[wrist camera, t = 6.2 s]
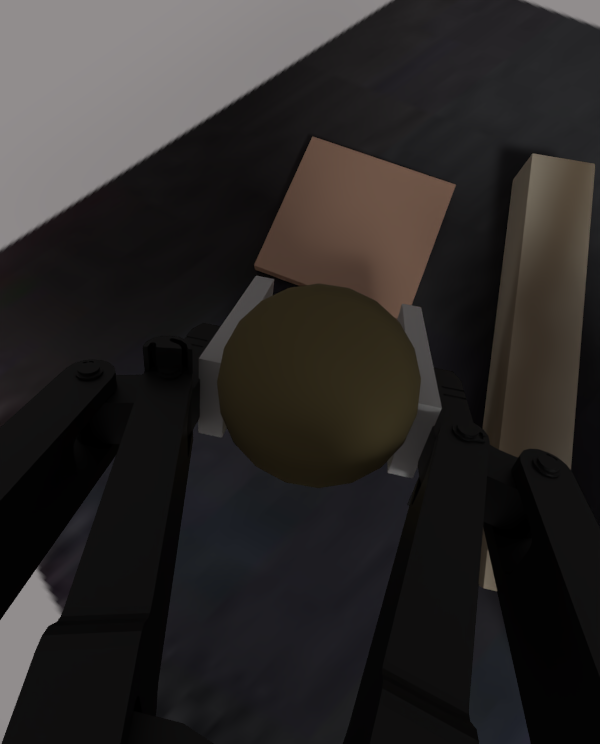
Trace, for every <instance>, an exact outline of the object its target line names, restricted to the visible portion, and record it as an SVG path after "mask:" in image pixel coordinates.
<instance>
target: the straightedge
mask: <svg viewBox="0 0 600 744" xmlns="http://www.w3.org/2000/svg"><path fill="white" fill-rule="evenodd" d="M594 172H595V164H592V163H586V162H580V161H574V160H568V159H563V158H557V157H551V156H545V155H539V154H532V155H531V156H530V158H529V159H528V160H527V162H526V163H525V164H524V166H523V167H522V168H521V170H520V171H519V172H518V174H517V175H516V176H515V178H514V179H513V183H512V191H511V199H510V207H509V215H508V224H507V232H506V240H505V248H504V256H503V265H502V273H501V281H500V289H499V297H498V305H497V314H496V322H495V330H494V338H493V346H492V354H491V363H490V371H489V379H488V387H487V395H486V404H485V412H484V420H483V428H482V429H483V430H484V431H485V432H486V434H487V435H488V437H489V441H490V445H491V446H493V447H495V448H497V449H499V450H501V451H503V452H506V453H508V454H511V455H513V456H515V457H519V456H520V454H521V453H522V452H523V450H526V449H539V450H542V451H545V452H548V453H551V454H553V455H554V456H556V457H558V458H559V459H560V460H562V461H563V462H564V463H565V464H566V465H567V466H568V467H569V469H570V470H571V462H572V450H573V437H574V424H575V412H576V399H577V386H578V374H579V361H580V349H581V336H582V323H583V311H584V298H585V285H586V273H587V260H588V247H589V235H590V222H591V210H592V197H593V184H594ZM479 585H480V586H481V587H482V588H485V589H489V590H494V591H497V588H496V583H495V578H494V574H493V569H492V565H491V560H490V556H489V551H488V547H487V542H486V538H485V533H484V529H483V535H482V547H481V560H480V572H479Z"/></svg>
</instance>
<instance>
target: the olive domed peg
mask: <svg viewBox="0 0 600 744" xmlns="http://www.w3.org/2000/svg"><path fill="white" fill-rule="evenodd" d="M420 385H421V376H420V372H419V367H418V362H417V357H416V353H415V348H414V347H413V345H412V343H411V341H410V340H409V338H408V336H407V335H406V333H405V331H404V329H403V328H402V326H401V324H400V322H399V321H398V320H397V319H396V318H394V317H393V316H392V315H391V314H390V313H389V312H388V311H387V310H386V309H385V308H384V307H382V306H381V305H380V304H379V303H378V302H377V301H375V300H373V299H371V298H369V297H367V296H365V295H363V294H361V293H359V292H356V291H354V290H352V289H350V288H346V287H339V286H333V285H326V284H319V283H318V284H312V285H305V286H298V287H291V288H287V289H285V290H283V291H281V292H279V293H277V294H275V295H273V296H271V297H268V298H266V299H264V300H262V301H261V302H260V303H259V304H257V305H256V306H255V307H254V308H253V309H252V310H251V311H250V312H249V313H248V314H247V315H246V316H244V317H243V318H242V319H241V320H240V321H239V323H238V324H237V326H236V328H235V330H234V331H233V333H232V335H231V337H230V338H229V340H228V342H227V344H226V345H225V347H224V350H223V355H222V360H221V365H220V370H219V374H218V379H217V388H218V396H219V405H220V414H221V416H222V418H223V420H224V422H225V424H226V427H227V429H228V431H229V433H230V435H231V437H232V440H233V442H234V443H235V444H236V445H237V446H238V448H239V449H240V450H241V451H242V452H243V453H244V454H245V455H246V456H247V457H248V458H249V459H250V460H251V461H252V462H253V463H254V465H255V466H256V467H258V468H260V469H262V470H264V471H266V472H267V473H269V474H271V475H273V476H275V477H277V478H279V479H280V480H282V481H284V482H287V483H293V484H298V485H304V486H310V487H316V488H322V487H328V486H334V485H341V484H347V483H352V482H354V481H356V480H358V479H360V478H362V477H364V476H366V475H368V474H369V473H371V472H373V471H375V470H377V469H379V468H381V467H382V466H383V465H384V464H385V463H386V462H387V461H388V460H389V459H390V458H391V456H392V455H393V454H394V453H395V452H396V451H397V450H398V449H399V448H400V447H401V446H402V445H403V444H404V442H405V440H406V437H407V435H408V433H409V431H410V429H411V427H412V425H413V422H414V420H415V418H416V416H417V412H418V403H419V394H420Z"/></svg>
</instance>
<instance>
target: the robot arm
mask: <svg viewBox="0 0 600 744" xmlns="http://www.w3.org/2000/svg"><path fill="white" fill-rule="evenodd" d="M273 287H274V279H271V278H266V277H261V276H255V278H254V279H253V281H252V282H251V284H250V285H249V286H248V288H247V289H246V291H245V292H244V294H243V295H242V297H241V298H240V299H239V301H238V302H237V304H236V305H235V307H234V308H233V310H232V311H231V313H230V314H229V315H228V317H227V318H226V320H225V321H224V323H223V324H222V326H216V325H211V324H206V323H203V324H201V325H199V326H197V327H195V328H193V329H192V330H191V331H190V332H189V334H188V335H187V337H185V339H183V338H180V337H175V336H161V337H156V338H153V339H151V340H149V341H147V342H146V343H145V344H144V346H143V354H144V367H145V372H144V374H142V375H116V373H115V368H114V366H113V365H111V364H110V363H108V362H105V361H102V360H84V361H80V362H77V363H74V364H72V365H70V366H69V367H67V368H66V369H65V370H64V371H63V372H61V373H60V374H59V375H58V376H57V377H56V378H55V379H54V380H53V381H51V382H50V383H49V384H48V385H47V386H46V387H45V388H44V389H43V390H41V391H40V392H39V393H38V394H37V395H36V396H35V397H34V398H33V399H31V400H30V401H29V402H28V403H27V404H26V405H25V406H24V407H23V408H21V409H20V410H19V411H18V412H17V413H16V414H15V415H14V416H13V417H11V418H10V419H9V420H8V421H7V422H6V423H5V424H4V425H3V426H1V427H0V620H1V618H2V617H3V615H4V614H5V612H6V611H7V610H8V608H9V607H10V605H11V604H12V603H13V601H14V600H15V598H16V597H17V595H18V594H19V593H20V591H21V590H22V588H23V587H24V585H25V584H26V583H27V581H28V580H29V578H30V577H31V575H32V574H33V572H34V571H35V570H36V568H37V567H38V565H39V564H40V563H41V561H42V560H43V558H44V557H45V555H46V554H47V553H48V551H49V550H50V548H51V547H52V545H53V544H54V543H55V541H56V540H57V538H58V537H59V536H60V534H61V533H62V531H63V530H64V528H65V527H66V526H67V524H68V523H69V521H70V520H71V518H72V517H73V516H74V514H75V513H76V511H77V510H78V508H79V507H80V506H81V504H82V503H83V501H84V500H85V498H86V497H87V496H88V494H89V493H90V491H91V490H92V488H93V487H94V486H95V484H96V483H97V481H98V480H99V478H100V477H101V476H102V474H103V473H104V471H105V470H106V469H107V467H108V466H109V464H110V463H111V461H112V460H113V459H114V457H115V456H116V457H115V460H114V463H113V466H112V469H111V472H110V475H109V478H108V481H107V484H106V487H105V490H104V493H103V496H102V499H101V501H100V504H99V507H98V510H97V513H96V516H95V519H94V522H93V525H92V528H91V531H90V534H89V537H88V540H87V543H86V546H85V548H84V551H83V554H82V557H81V560H80V563H79V566H78V569H77V572H76V575H75V578H74V581H73V584H72V587H71V590H70V593H69V595H68V598H67V601H66V604H65V607H64V610H63V612H62V615H61V617H60V618H59V620H58V621H57V622H56V623H54V624H52V625H50V626H48V628H47V629H46V631H45V632H44V634H43V635H42V637H41V639H40V642H39V644H38V646H37V649H36V651H35V653H34V656H33V659H32V662H31V664H30V667H29V670H28V673H27V676H26V678H25V681H24V684H23V686H22V689H21V692H20V695H19V697H18V700H17V703H16V706H15V709H14V711H13V714H12V716H11V719H10V722H9V725H8V727H7V730H6V733H5V736H4V738H3V741H2V744H213V743H212V742H210V741H209V740H207V739H206V738H204V737H203V736H201V735H200V734H198V733H197V732H195V731H194V730H192V729H191V728H189V727H188V726H186V725H185V724H183V723H179V722H175V721H171V720H167V719H163V718H159V717H156V709H157V691H158V681H159V673H160V666H161V659H162V652H163V645H164V638H165V631H166V624H167V617H168V610H169V603H170V596H171V589H172V582H173V575H174V568H175V561H176V554H177V547H178V540H179V534H180V527H181V520H182V513H183V506H184V499H185V492H186V485H187V478H188V471H189V464H190V457H191V450H192V443H193V428H194V426H195V425H196V423H197V421H198V433H203V434H208V435H212V436H217V437H223V434H224V432H225V430H226V428H227V427H226V424H225V422H224V420H223V418H222V416H221V414H220V405H219V396H218V388H217V379H218V374H219V370H220V365H221V360H222V355H223V350H224V347H225V345H226V344H227V342H228V340H229V338H230V337H231V335H232V333H233V331H234V330H235V328H236V326H237V324H238V323H239V321H240V320H241V319H242V318H243V317H244V316H246V315H247V314H248V313H249V312H250V311H251V310H252V309H253V308H254V307H255V306H256V305H257V304H259V303H260V302H261V301H262V300H264V299H266V298H268V297H271V296H273ZM397 320H398V321H399V322H400V324H401V326H402V328H403V329H404V331H405V333H406V335H407V336H408V338H409V340H410V341H411V343H412V345H413V347H414V348H415V353H416V357H417V362H418V367H419V372H420V376H421V385H420V394H419V403H418V412H417V416H416V418H415V420H414V422H413V425H412V427H411V429H410V431H409V433H408V435H407V437H406V440H405V442H404V444H403V445H402V446H401V447H400V448H399V449H398V450H397V451H396V452H395V453H394V454H393V455H392V456H391V458H390V459H389V460H388V461H387V463H388V473H391V474H395V475H400V476H405V477H409V478H413V476H414V474H415V471H416V469H417V467H418V469H419V478H418V481H417V483H416V485H415V488H414V490H413V492H412V495H411V497H410V499H409V502H408V504H407V505H409V509H408V513H407V517H406V520H405V524H404V528H403V531H402V535H401V538H400V542H399V546H398V549H397V553H396V557H395V560H394V564H393V567H392V571H391V575H390V578H389V582H388V586H387V589H386V593H385V596H384V600H383V604H382V607H381V611H380V615H379V618H378V622H377V625H376V629H375V633H374V636H373V640H372V644H371V647H370V651H369V655H368V658H367V662H366V665H365V669H364V673H363V676H362V680H361V684H360V687H359V691H358V694H357V698H356V702H355V705H354V709H353V713H352V716H351V720H350V723H349V727H348V730H347V733H346V736H345V739H344V742H343V744H479V740H478V735H477V730H476V728H475V727H474V726H473V724H472V723H471V722H470V718H469V698H470V686H471V673H472V661H473V648H474V635H475V623H476V610H477V598H478V585H479V572H480V560H481V547H482V535H483V529H484V533H485V538H486V542H487V547H488V551H489V556H490V560H491V565H492V569H493V574H494V578H495V583H496V588H497V592H498V597H499V601H500V606H501V610H502V615H503V619H504V624H505V628H506V633H507V637H508V642H509V646H510V651H511V655H512V660H513V665H514V669H515V674H516V678H517V683H518V687H519V692H520V696H521V701H522V705H523V710H524V714H525V719H526V723H527V728H528V732H529V737H530V742H531V744H600V527H599V525H598V523H597V521H596V519H595V517H594V515H593V513H592V511H591V509H590V507H589V505H588V503H587V501H586V499H585V497H584V495H583V493H582V491H581V489H580V487H579V485H578V483H577V481H576V479H575V477H574V475H573V473H572V471H571V470H570V469H569V467H568V466H567V465H566V464H565V463H564V462H563V461H562V460H560V459H559V458H558V457H556V456H554V455H553V454H551V453H548V452H545V451H542V450H539V449H526V450H523V452H522V453H521V454H520V456H519V457H515V456H513V455H511V454H508V453H506V452H503V451H501V450H499V449H497V448H495V447H493V446H491V445H490V441H489V437H488V435H487V434H486V432H485V431H484V430H483V429H482V428H481V427H479V426H478V425H477V424H475V423H473V419H472V416H471V413H470V409H469V406H468V402H467V400H466V396H465V392H464V389H463V385H462V382H461V380H460V379H459V378H458V377H457V376H456V375H455V374H454V372H452V371H447V370H442V369H437V368H433V363H432V358H431V353H430V348H429V343H428V339H427V334H426V329H425V324H424V319H423V314H422V310H421V307H417V306H412V305H407V304H402V305H401V309H400V312H399V315H398V319H397Z"/></svg>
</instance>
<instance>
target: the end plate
mask: <svg viewBox="0 0 600 744" xmlns="http://www.w3.org/2000/svg"><path fill="white" fill-rule="evenodd" d="M455 186H456V185H455V184H452V183H449V182H446V181H443V180H440V179H437V178H434V177H431V176H428V175H425V174H422V173H419V172H416V171H414V170H411V169H408V168H405V167H402V166H399V165H396V164H393V163H390V162H387V161H384V160H381V159H378V158H375V157H372V156H369V155H366V154H363V153H360V152H357V151H354V150H351V149H348V148H345V147H343V146H340V145H337V144H334V143H331V142H328V141H325V140H322V139H319V138H316V137H313V136H312V139H311V141H310V143H309V145H308V147H307V150H306V152H305V154H304V156H303V158H302V161H301V163H300V165H299V167H298V169H297V172H296V174H295V176H294V178H293V180H292V183H291V185H290V187H289V189H288V191H287V194H286V196H285V198H284V200H283V202H282V205H281V207H280V209H279V211H278V213H277V216H276V218H275V220H274V222H273V224H272V227H271V229H270V231H269V233H268V235H267V238H266V240H265V242H264V244H263V247H262V249H261V251H260V253H259V255H258V258H257V260H256V262H255V264H254V267H255V270H257V271H260V272H263V273H266V274H268V275H271V276H274V277H276V278H279V279H282V280H284V281H287V282H290V283H292V284H295V285H298V286H305V285H312V284H318V283H319V284H326V285H333V286H339V287H346V288H350V289H352V290H354V291H356V292H359V293H361V294H363V295H365V296H367V297H369V298H371V299H373V300H375V301H377V302H378V303H379V304H380V305H381V306H382V307H384V308H385V309H386V310H387V311H388V312H389V313H390V314H391V315H392V316H393V317H394V318H396V319H398V315H399V312H400V309H401V305H402V304H407V305H412V303H413V300H414V297H415V295H416V292H417V289H418V286H419V284H420V281H421V278H422V276H423V273H424V270H425V267H426V265H427V262H428V259H429V256H430V254H431V251H432V248H433V246H434V243H435V240H436V237H437V235H438V232H439V229H440V226H441V224H442V221H443V218H444V216H445V213H446V210H447V207H448V205H449V202H450V199H451V197H452V194H453V191H454V188H455Z"/></svg>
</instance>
